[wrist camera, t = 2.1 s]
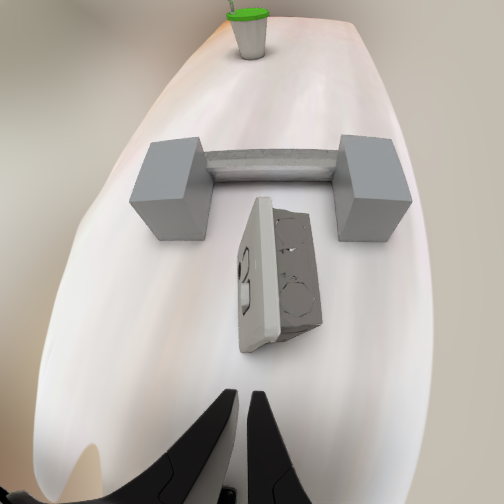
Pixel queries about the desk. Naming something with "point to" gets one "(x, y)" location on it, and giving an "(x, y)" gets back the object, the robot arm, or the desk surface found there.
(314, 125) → the desk surface
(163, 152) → the mounted modules
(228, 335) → the desk surface
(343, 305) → the desk surface
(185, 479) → the robot arm
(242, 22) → the cup
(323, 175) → the rail
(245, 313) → the electrical switch
